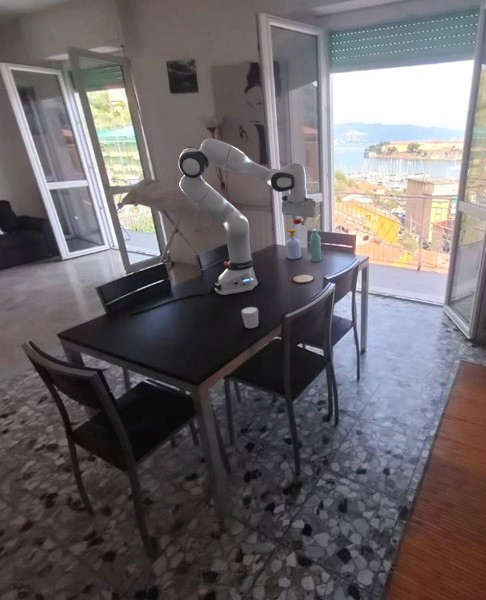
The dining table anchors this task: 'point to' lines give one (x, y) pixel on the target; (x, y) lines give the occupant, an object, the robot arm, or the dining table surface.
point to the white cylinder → (250, 317)
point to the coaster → (303, 279)
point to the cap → (297, 221)
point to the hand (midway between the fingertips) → (300, 224)
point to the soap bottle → (293, 245)
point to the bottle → (315, 246)
